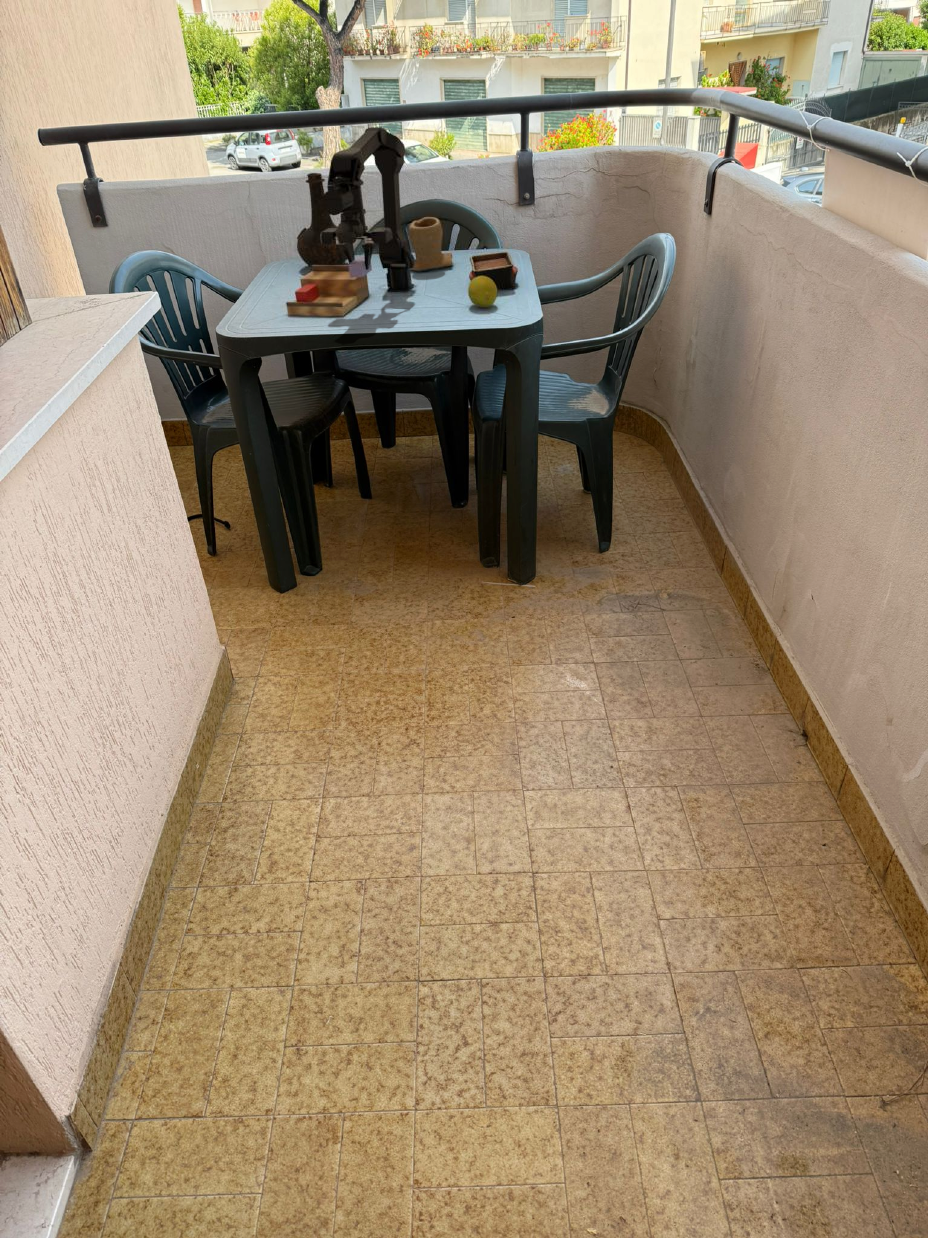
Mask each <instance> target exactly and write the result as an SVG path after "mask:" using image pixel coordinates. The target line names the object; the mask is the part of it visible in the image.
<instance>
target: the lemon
mask: <svg viewBox="0 0 928 1238" xmlns="http://www.w3.org/2000/svg"><path fill="white" fill-rule="evenodd" d="M467 294H468V298H469V300H470V302H471V303H472V304H473V305H475V306H476V307H479V308H489V307H491V306H493V305H494V303H495V302H496V300H497V297H498V289H497V287H496V285H495V283H494V282H493V280H491V279H490V278H488V277H486V276H478V277H476V278H474V279H473V280H472V281H471V280H470V282H469V284H468V288H467Z"/></svg>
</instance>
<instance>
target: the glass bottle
mask: <svg viewBox="0 0 928 1238" xmlns="http://www.w3.org/2000/svg"><path fill="white" fill-rule="evenodd" d="M306 177H307V179H306V180H305V183H307V184H308V187H309V196H310V198H309V199H310V212H311V219H310V220H311V221H310V226H308V228H307V227H304V228H303V229H302V230H301V231H300V233H299V234H298V235H297V237H296V240H297V241H296V249H297V252H298V255H299V257H300V258H301V260H302V261H303V262H304V263H305V264H306V265H307V266H309V267H311V268H312V265H344V264H345V263H346V262H347V261H348V259H347V257H346V255H345V254H344V252H343V250H342V249H340V248H339V247H336V246H335V245H336V240H334V241H333V242H332V243H331V244H321V239H320V235H321V233H322V232H323V231H325V230H326V229H328V228H337V227H338V225H336V224H335V223H334V222H333V218H332V215H331V214H329V213H328V212H326V210H325V209H324V207H323V203H322V200H323V196H324V194H325V193H326V192H325V188H324V184H323V183H324V182H325V181H326V179H325V178H323V177H322V173H320V172H310V173H308V174H306Z"/></svg>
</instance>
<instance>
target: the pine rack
mask: <svg viewBox="0 0 928 1238" xmlns="http://www.w3.org/2000/svg"><path fill="white" fill-rule="evenodd" d="M306 284H317V286H318V293H319V297H318V298H316V299H315V300H313V301H312V302H297V301H296V299H295V300H293V301H286V302H285V306H286V311H287V315H288V316H304V317H305V316H310V317H311V316H313V317H316V316H317V317H344V316H346V315H347V314H348V313H349V312H351V311H352V310H353V309H354V308H355V307H357V306H358V305H359V304H360V303H362V302H363V301H364V300H365V299H366V298H368V297H369V296H370V288H369V281H368V273H367V274H366V275H365V276H363V277H350V272H349V265H348V264H342V265H312V267H311V271H310V272H308V273H307V274H305V275H304V276H302V277H301V278H300V288H301V287H303V286H304V285H306Z"/></svg>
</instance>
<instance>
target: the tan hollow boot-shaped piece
mask: <svg viewBox="0 0 928 1238" xmlns="http://www.w3.org/2000/svg"><path fill="white" fill-rule="evenodd" d="M408 232H409V234H408V235H409V241H410V244H411V247H412V249H413V252H414V256H415V263H414V268H410V270H413V271H416V272H417V271H418V272H419V271H420V272H421V271H429V270H435V269H440V268H447V267H451V266H453V253H452V252H446V253H443V252H442V244H443V236H444V235H443V234H444V233H443V232H444V231H443V227H442V224H441V221H440V220H439V219H438V218H437V217H434V216H425V217H422V218H420V219H417V220H413V221H412V222H411V223H410V224H409V227H408Z"/></svg>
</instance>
